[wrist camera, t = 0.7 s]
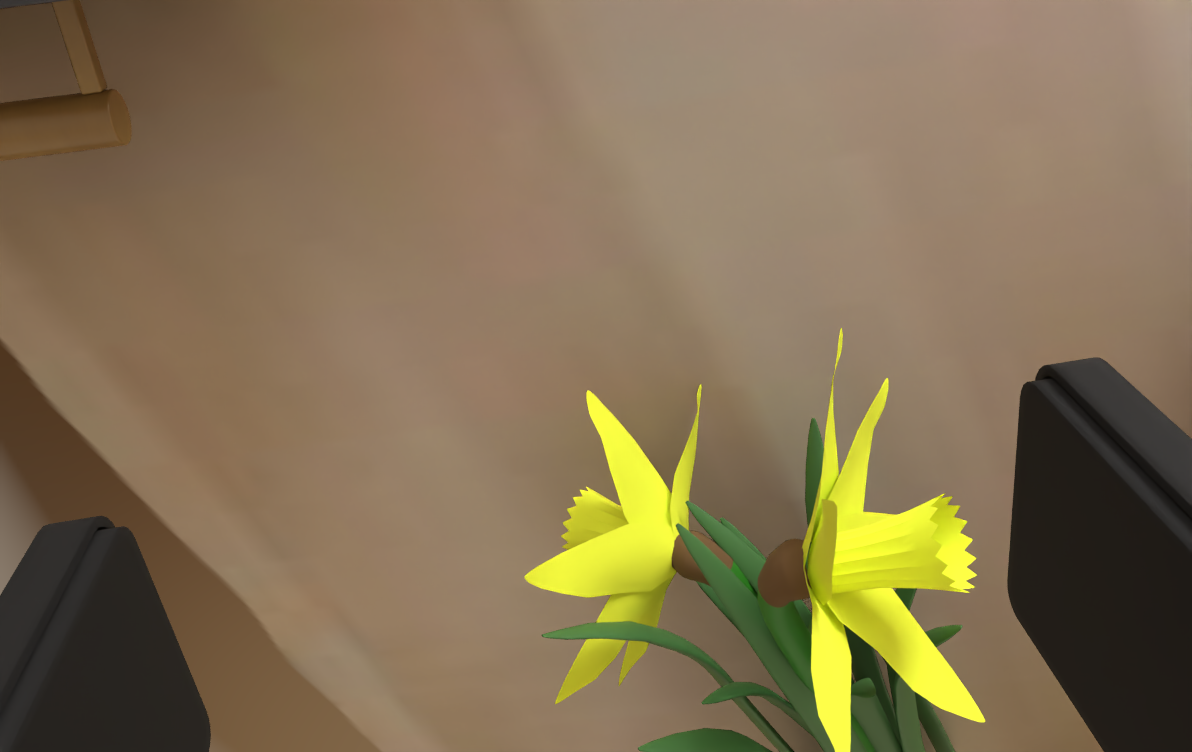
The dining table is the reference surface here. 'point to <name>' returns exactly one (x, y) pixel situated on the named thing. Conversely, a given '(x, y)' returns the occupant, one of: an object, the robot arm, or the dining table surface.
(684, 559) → the daffodil flowers
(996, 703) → the dining table surface
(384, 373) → the dining table surface
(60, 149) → the drawer
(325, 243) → the dining table surface
